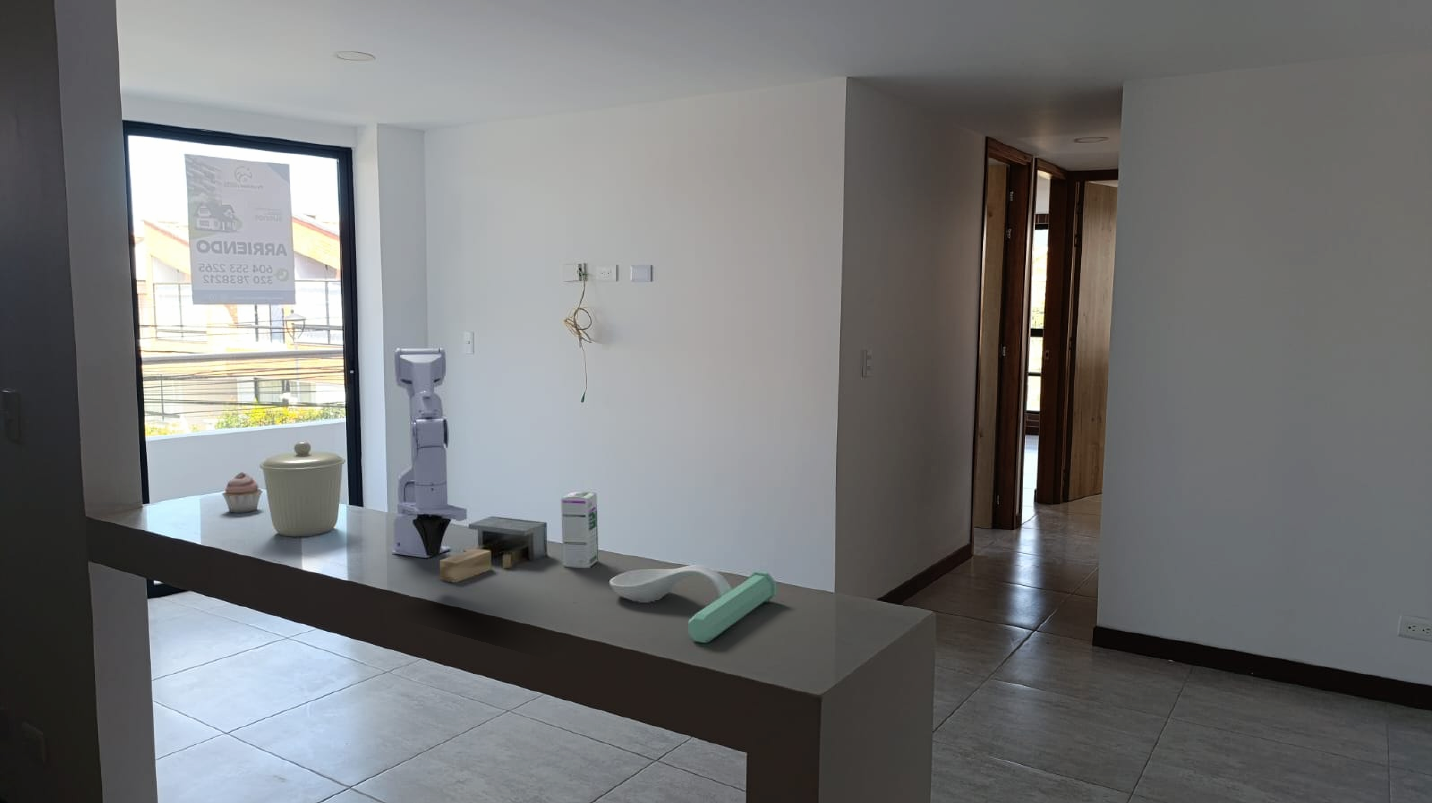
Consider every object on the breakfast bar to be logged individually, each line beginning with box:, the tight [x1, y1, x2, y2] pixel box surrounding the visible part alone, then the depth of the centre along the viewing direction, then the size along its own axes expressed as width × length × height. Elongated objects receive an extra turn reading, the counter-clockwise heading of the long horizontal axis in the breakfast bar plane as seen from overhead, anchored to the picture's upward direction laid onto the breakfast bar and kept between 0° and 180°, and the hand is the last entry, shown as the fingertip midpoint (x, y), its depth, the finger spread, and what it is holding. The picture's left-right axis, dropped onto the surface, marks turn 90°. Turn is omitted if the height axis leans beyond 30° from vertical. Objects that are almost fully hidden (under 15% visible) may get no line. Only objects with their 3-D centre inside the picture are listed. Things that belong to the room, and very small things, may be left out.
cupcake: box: [221, 471, 263, 514], centre depth 240 cm, size 9×9×10 cm
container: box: [687, 570, 777, 644], centre depth 159 cm, size 6×6×25 cm
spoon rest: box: [608, 564, 733, 603], centre depth 169 cm, size 24×12×7 cm, turn 65°
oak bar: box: [439, 548, 492, 583], centre depth 185 cm, size 4×10×4 cm, turn 153°
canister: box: [259, 441, 346, 538], centre depth 218 cm, size 18×18×21 cm
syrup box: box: [560, 491, 599, 569], centre depth 193 cm, size 6×6×14 cm
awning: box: [462, 516, 548, 569], centre depth 197 cm, size 14×12×7 cm
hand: (432, 554), depth 176 cm, fingers closed
